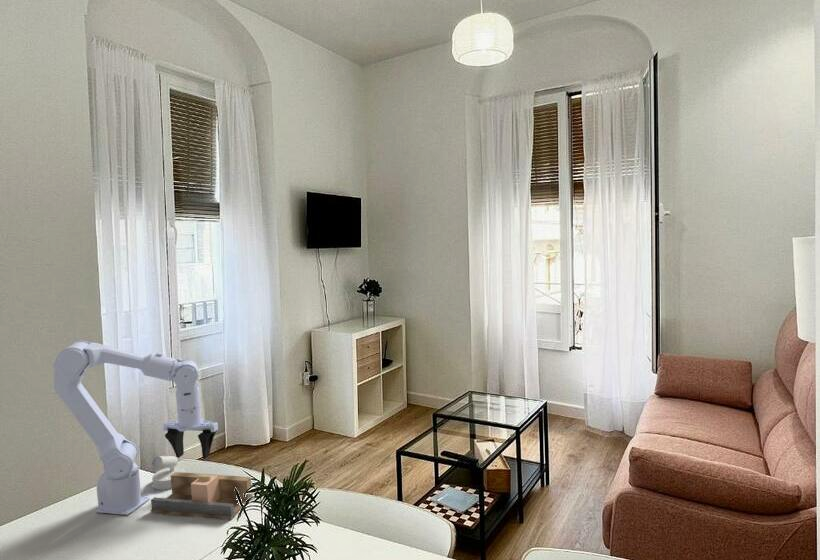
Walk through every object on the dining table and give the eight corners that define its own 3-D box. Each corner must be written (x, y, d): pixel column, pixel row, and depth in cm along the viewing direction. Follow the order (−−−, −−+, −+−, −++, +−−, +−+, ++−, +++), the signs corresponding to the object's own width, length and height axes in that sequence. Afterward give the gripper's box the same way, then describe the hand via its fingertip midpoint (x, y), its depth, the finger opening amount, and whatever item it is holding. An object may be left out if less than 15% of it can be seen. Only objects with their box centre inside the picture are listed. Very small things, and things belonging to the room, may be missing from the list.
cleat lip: (151, 509, 128) (150, 499, 128) (155, 506, 129) (154, 497, 129) (231, 516, 123) (230, 506, 123) (234, 513, 124) (233, 503, 124)
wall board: (151, 513, 128) (149, 490, 127) (177, 492, 137) (175, 472, 137) (231, 520, 123) (229, 497, 123) (252, 498, 133) (250, 477, 132)
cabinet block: (192, 506, 128) (190, 480, 128) (204, 496, 133) (202, 470, 133) (208, 508, 127) (206, 481, 127) (220, 497, 132) (218, 471, 132)
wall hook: (140, 458, 138) (161, 442, 148) (143, 492, 139) (164, 474, 148) (170, 458, 137) (190, 442, 147) (173, 492, 138) (192, 474, 148)
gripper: (154, 411, 132) (158, 462, 134) (206, 412, 130) (210, 464, 131) (171, 402, 139) (175, 450, 141) (220, 403, 137) (224, 452, 138)
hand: (193, 456), depth 136 cm, fingers open, 7 cm apart
